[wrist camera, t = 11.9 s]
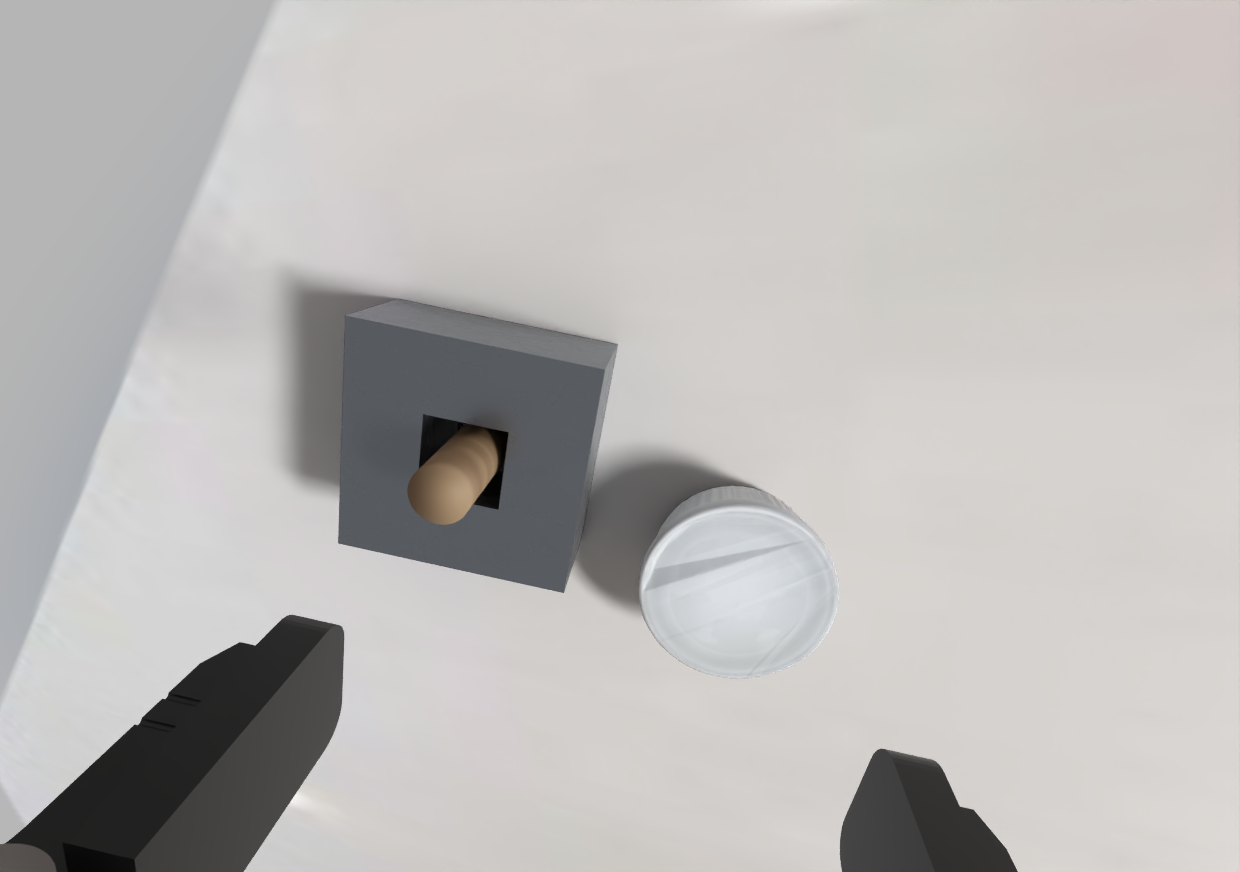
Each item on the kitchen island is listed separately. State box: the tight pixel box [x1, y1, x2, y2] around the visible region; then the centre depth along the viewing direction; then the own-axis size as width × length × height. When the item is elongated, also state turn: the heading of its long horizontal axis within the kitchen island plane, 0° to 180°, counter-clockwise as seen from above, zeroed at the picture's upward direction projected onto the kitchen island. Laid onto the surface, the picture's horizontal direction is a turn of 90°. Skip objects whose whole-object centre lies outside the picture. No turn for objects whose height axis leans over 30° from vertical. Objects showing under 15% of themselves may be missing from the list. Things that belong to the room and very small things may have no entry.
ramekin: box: [639, 486, 839, 679], centre depth 37 cm, size 11×11×5 cm
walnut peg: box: [407, 423, 509, 525], centre depth 34 cm, size 3×3×10 cm
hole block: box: [338, 299, 618, 593], centre depth 36 cm, size 13×13×6 cm
